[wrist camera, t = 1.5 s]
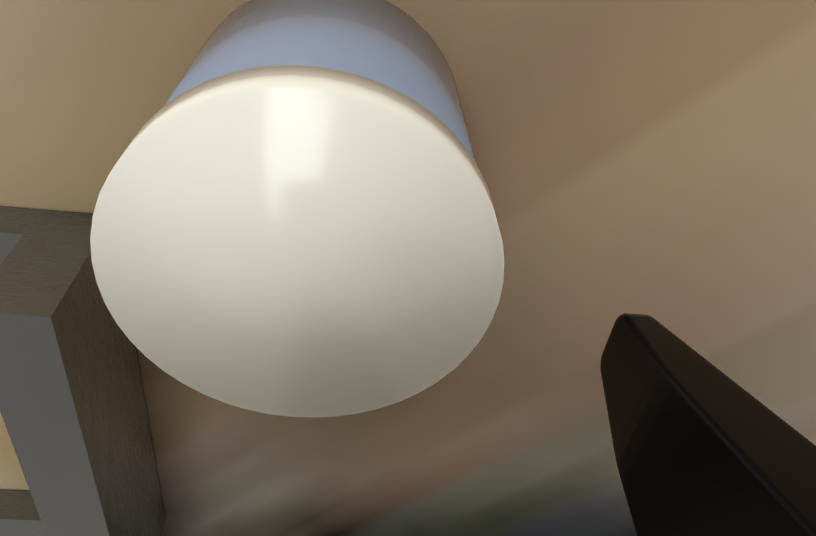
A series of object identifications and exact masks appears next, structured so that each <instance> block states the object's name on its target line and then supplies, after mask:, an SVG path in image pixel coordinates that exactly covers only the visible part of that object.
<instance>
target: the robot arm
mask: <svg viewBox="0 0 816 536" xmlns="http://www.w3.org/2000/svg"><path fill="white" fill-rule="evenodd" d="M601 375H602V381H603V387H604V393H605V399H606V405H607V411H608V416H609V422H610V428H611V434H612V440H613V446H614V451H615V456H616V461H617V466H618V470H619V474H620V477H621V481H622V485H623V488H624V492H625V495H626V498H627V502H628V505H629V509H630V512H631V516H632V519H633V522H634V526H635V529H636V533H637V536H816V446H815V445H814V444H813V443H811V442H810V441H809V440H808V439H806V438H805V437H804V436H803V435H801V434H800V433H799V432H797V431H796V430H795V429H794V428H792V427H791V426H790V425H789V424H787V423H786V422H785V421H783V420H782V419H781V418H780V417H778V416H777V415H776V414H775V413H773V412H772V411H771V410H769V409H768V408H767V407H766V406H764V405H763V404H762V403H761V402H759V401H758V400H757V399H755V398H754V397H753V396H752V395H750V394H749V393H748V392H747V391H745V390H744V389H743V388H742V387H740V386H739V385H738V384H736V383H735V382H734V381H733V380H731V379H730V378H729V377H728V376H726V375H725V374H724V373H722V372H721V371H720V370H719V369H717V368H716V367H715V366H714V365H712V364H711V363H710V362H708V361H707V360H706V359H705V358H703V357H702V356H701V355H700V354H698V353H697V352H696V351H694V350H693V349H692V348H691V347H689V346H688V345H687V344H686V343H684V342H683V341H682V340H680V339H679V338H678V337H677V336H675V335H674V334H673V333H672V332H670V331H669V330H668V329H667V328H665V327H664V326H663V325H661V324H660V323H659V322H658V321H656V320H655V319H654V318H652V317H651V316H648V315H642V314H627V313H625V314H622V315H620V316H619V317H618V318H617V320H616V321H615V324H614V326H613V329H612V331H611V334H610V336H609V338H608V341H607V343H606V346H605V348H604V351H603V353H602V357H601Z"/></svg>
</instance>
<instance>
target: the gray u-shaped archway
mask: <svg viewBox="0 0 816 536" xmlns="http://www.w3.org/2000/svg"><path fill="white" fill-rule="evenodd" d="M92 217H93V213H80V212H68V211H55V210H43V209H30V208H18V207H5V206H0V411H1V414H2V416H3V419H4V422H5V424H6V427H7V430H8V433H9V435H10V438H11V441H12V443H13V446H14V449H15V451H16V454H17V457H18V460H19V462H20V465H21V468H22V470H23V473H24V476H25V479H26V481H27V484H28V487H29V489H30V491H15V490H0V536H160V534H161V531H162V527H163V524H164V520H165V513H164V507H163V501H162V496H161V490H160V484H159V478H158V473H157V467H156V461H155V455H154V449H153V444H152V438H151V432H150V426H149V420H148V415H147V409H146V403H145V397H144V391H143V386H142V380H141V374H140V368H139V362H138V357H137V351H136V346H135V345H134V344H133V343H132V342H131V341H130V340H129V339H128V338H127V336H126V335H125V334H124V332H123V331H122V330H121V328H120V327H119V326H118V325H117V323H116V322H115V320H114V318H113V317H112V315H111V313H110V311H109V310H108V308H107V306H106V304H105V302H104V300H103V297H102V295H101V293H100V290H99V288H98V285H97V282H96V278H95V274H94V270H93V265H92V261H91V245H90V235H91V226H92Z"/></svg>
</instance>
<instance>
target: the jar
mask: <svg viewBox="0 0 816 536" xmlns="http://www.w3.org/2000/svg"><path fill="white" fill-rule="evenodd" d="M90 245H91V261H92V265H93V270H94V274H95V278H96V282H97V285H98V288H99V290H100V293H101V295H102V297H103V300H104V302H105V304H106V306H107V308H108V310H109V311H110V313H111V315H112V317H113V318H114V320H115V322H116V323H117V325H118V326H119V327H120V328H121V330H122V331H123V332H124V334H125V335H126V336H127V338H128V339H129V340H130V341H131V342H132V343H133V344H134V345H135V346H136V347H137V348H138V349H139V350H140V351H141V352H142V353H143V354H144V355H145V356H146V357H147V358H148V359H149V360H150V361H152V362H153V363H154V364H155V365H157V366H158V367H159V368H160V369H162V370H163V371H164V372H166V373H167V374H169V375H170V376H172V377H173V378H175V379H176V380H178V381H179V382H181V383H183V384H184V385H186V386H188V387H190V388H192V389H194V390H196V391H198V392H200V393H202V394H204V395H206V396H209V397H211V398H214V399H216V400H219V401H221V402H224V403H227V404H230V405H233V406H236V407H240V408H243V409H246V410H251V411H256V412H260V413H265V414H271V415H279V416H287V417H304V418H321V417H338V416H345V415H352V414H359V413H363V412H367V411H372V410H376V409H380V408H383V407H386V406H389V405H392V404H395V403H398V402H400V401H403V400H405V399H407V398H409V397H411V396H414V395H416V394H418V393H420V392H422V391H423V390H425V389H427V388H428V387H430V386H432V385H434V384H435V383H437V382H438V381H440V380H441V379H442V378H444V377H445V376H446V375H448V374H449V373H450V372H452V371H453V370H454V369H455V368H456V367H457V366H458V365H459V364H460V363H461V362H462V361H463V360H464V359H465V358H467V357H468V355H469V354H470V353H471V352H472V350H473V349H474V348H475V347H476V345H477V344H478V343H479V342H480V340H481V339H482V337H483V335H484V334H485V332H486V330H487V329H488V327H489V325H490V324H491V321H492V319H493V317H494V314H495V312H496V309H497V307H498V304H499V300H500V296H501V291H502V287H503V279H504V265H505V262H504V252H503V242H502V238H501V234H500V230H499V226H498V223H497V219H496V215H495V211H494V208H493V204H492V200H491V196H490V193H489V189H488V187H487V185H486V183H485V180H484V178H483V176H482V173H481V171H480V169H479V167H478V166H477V164H476V163H475V160H474V156H473V152H472V148H471V144H470V140H469V136H468V132H467V128H466V124H465V120H464V116H463V112H462V108H461V104H460V100H459V96H458V93H457V89H456V85H455V81H454V78H453V75H452V73H451V71H450V68H449V66H448V63H447V61H446V60H445V58H444V56H443V54H442V53H441V51H440V49H439V48H438V46H437V45H436V43H435V42H434V41H433V40H432V38H431V37H430V36H429V35H428V33H427V32H426V31H425V30H424V29H423V28H422V27H421V26H420V25H419V24H418V23H417V22H416V21H415V20H414V19H413V18H411V17H410V16H409V15H407V14H406V13H404V12H403V11H402V10H400V9H399V8H398V7H396V6H394V5H393V4H391V3H389V2H387V1H385V0H250V1H248V2H246V3H245V4H243V5H242V6H241V7H239V8H238V9H236V10H235V11H234V12H232V13H231V14H230V15H229V16H228V17H227V18H226V19H225V20H224V21H223V22H222V23H221V24H220V25H219V26H218V27H217V28H216V29H215V31H214V32H213V33H212V35H211V36H210V37H209V39H208V40H207V41H206V43H205V45H204V46H203V48H202V49H201V51H200V52H199V54H198V55H197V57H196V58H195V60H194V61H193V63H192V64H191V66H190V67H189V69H188V70H187V72H186V73H185V75H184V76H183V78H182V80H181V81H180V83H179V84H178V86H177V87H176V89H175V90H174V92H173V93H172V95H171V96H170V98H169V99H168V101H167V102H166V104H165V105H164V106H163V107H162V108H161V109H160V110H159V111H158V112H157V113H156V114H155V115H153V116H152V117H151V118H150V119H149V120H148V121H147V122H146V123H145V124H144V125H143V127H142V128H141V129H140V131H139V132H138V133H137V135H136V136H135V137H134V139H133V140H132V141H131V143H130V144H129V145H128V147H127V148H126V150H125V151H124V153H123V154H122V156H121V157H120V159H119V160H118V162H117V163H116V164H115V166H114V167H113V169H112V170H111V172H110V173H109V175H108V177H107V179H106V181H105V183H104V185H103V187H102V189H101V191H100V193H99V196H98V200H97V203H96V206H95V210H94V213H93V217H92V226H91V235H90Z"/></svg>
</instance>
